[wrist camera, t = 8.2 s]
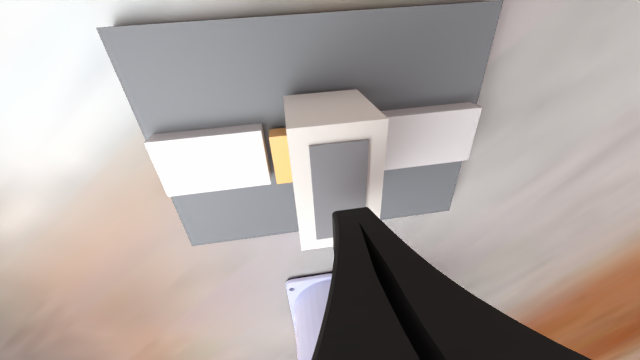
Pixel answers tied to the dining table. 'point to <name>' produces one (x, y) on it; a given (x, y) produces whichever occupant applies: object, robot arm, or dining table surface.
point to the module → (334, 158)
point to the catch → (280, 155)
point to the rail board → (301, 78)
